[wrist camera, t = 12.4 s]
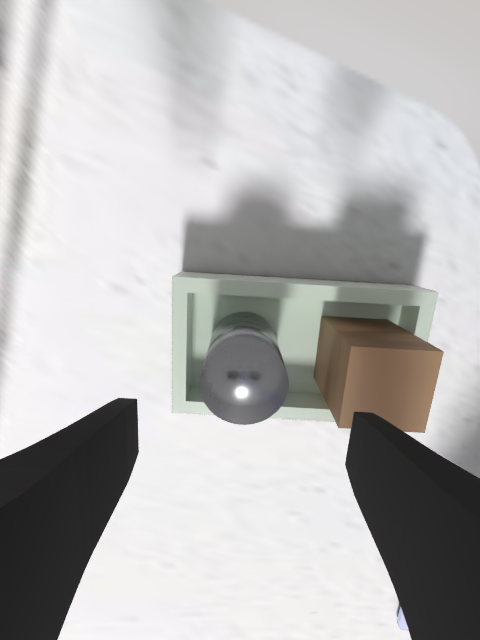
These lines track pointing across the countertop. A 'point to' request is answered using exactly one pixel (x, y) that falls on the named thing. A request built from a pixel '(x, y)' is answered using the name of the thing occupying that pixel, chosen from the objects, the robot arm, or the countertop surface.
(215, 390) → the steel cylinder
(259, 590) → the countertop surface
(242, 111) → the countertop surface
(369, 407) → the walnut block
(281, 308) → the tray
